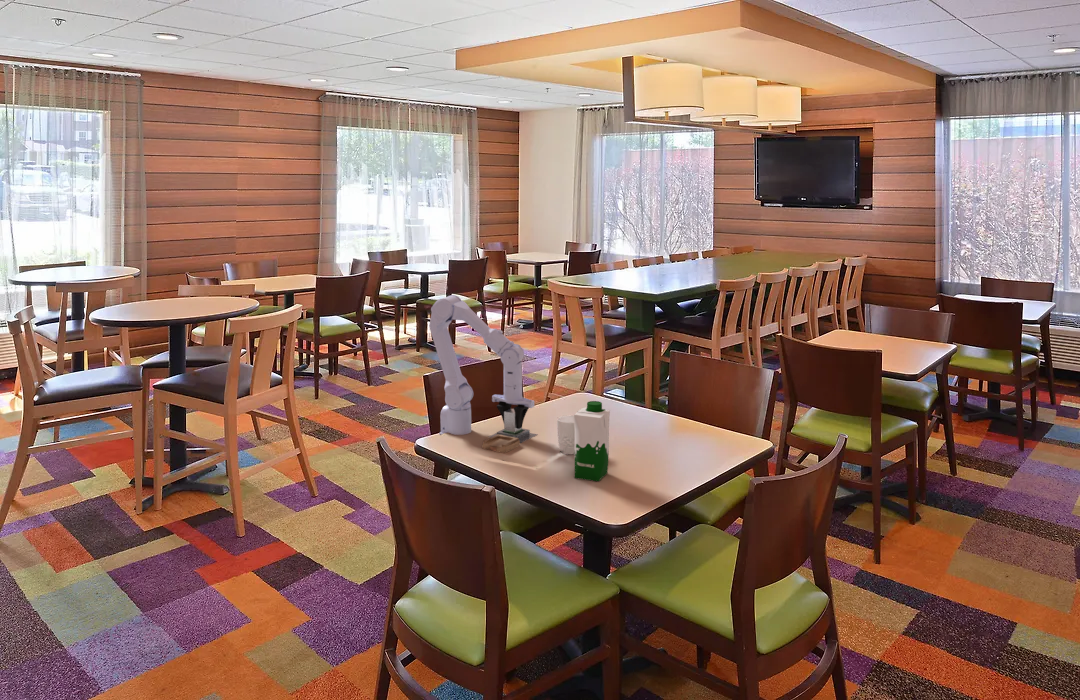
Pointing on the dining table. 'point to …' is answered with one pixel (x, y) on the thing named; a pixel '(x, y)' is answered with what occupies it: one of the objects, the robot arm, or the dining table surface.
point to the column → (510, 422)
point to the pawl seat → (501, 443)
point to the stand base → (517, 435)
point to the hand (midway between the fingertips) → (513, 426)
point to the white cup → (566, 434)
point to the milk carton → (591, 441)
